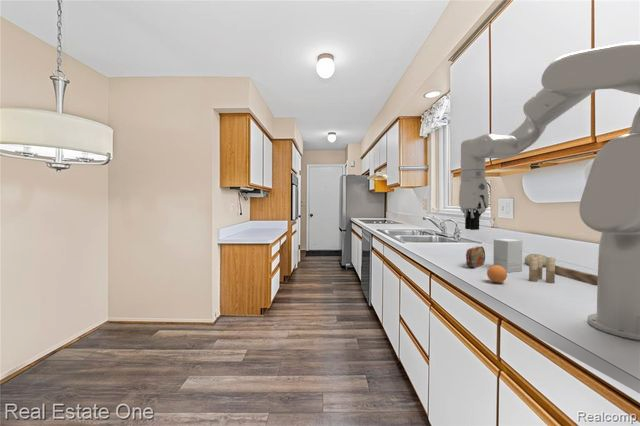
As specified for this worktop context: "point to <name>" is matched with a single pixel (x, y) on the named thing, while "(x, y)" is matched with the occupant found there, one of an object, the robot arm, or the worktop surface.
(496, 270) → the ball
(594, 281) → the brown wooden bar
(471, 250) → the tin
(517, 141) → the robot arm
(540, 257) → the back left pin
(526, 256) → the sea urchin shell
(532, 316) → the worktop surface
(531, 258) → the front pin
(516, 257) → the supplement box
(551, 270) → the back right pin
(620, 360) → the worktop surface
